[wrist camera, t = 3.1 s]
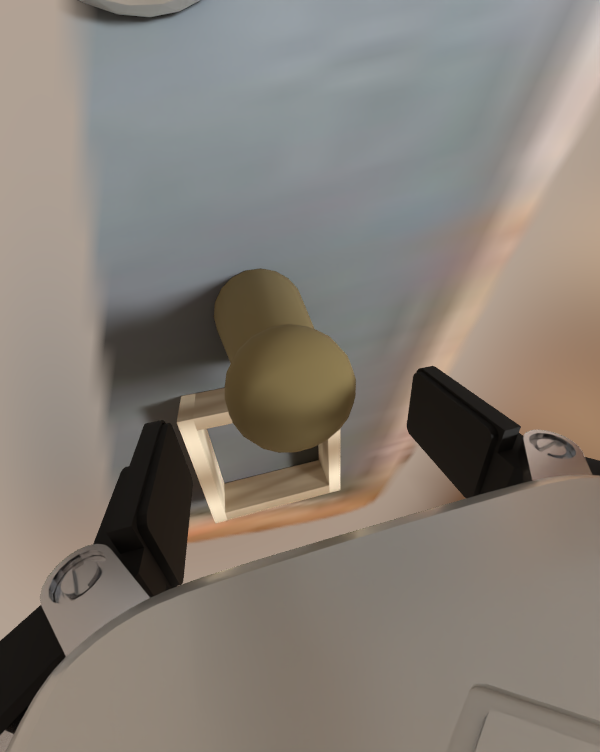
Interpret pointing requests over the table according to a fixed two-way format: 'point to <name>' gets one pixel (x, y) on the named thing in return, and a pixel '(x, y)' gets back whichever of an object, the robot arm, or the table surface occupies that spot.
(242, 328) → the cork
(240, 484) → the beige square frame
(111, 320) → the table surface
